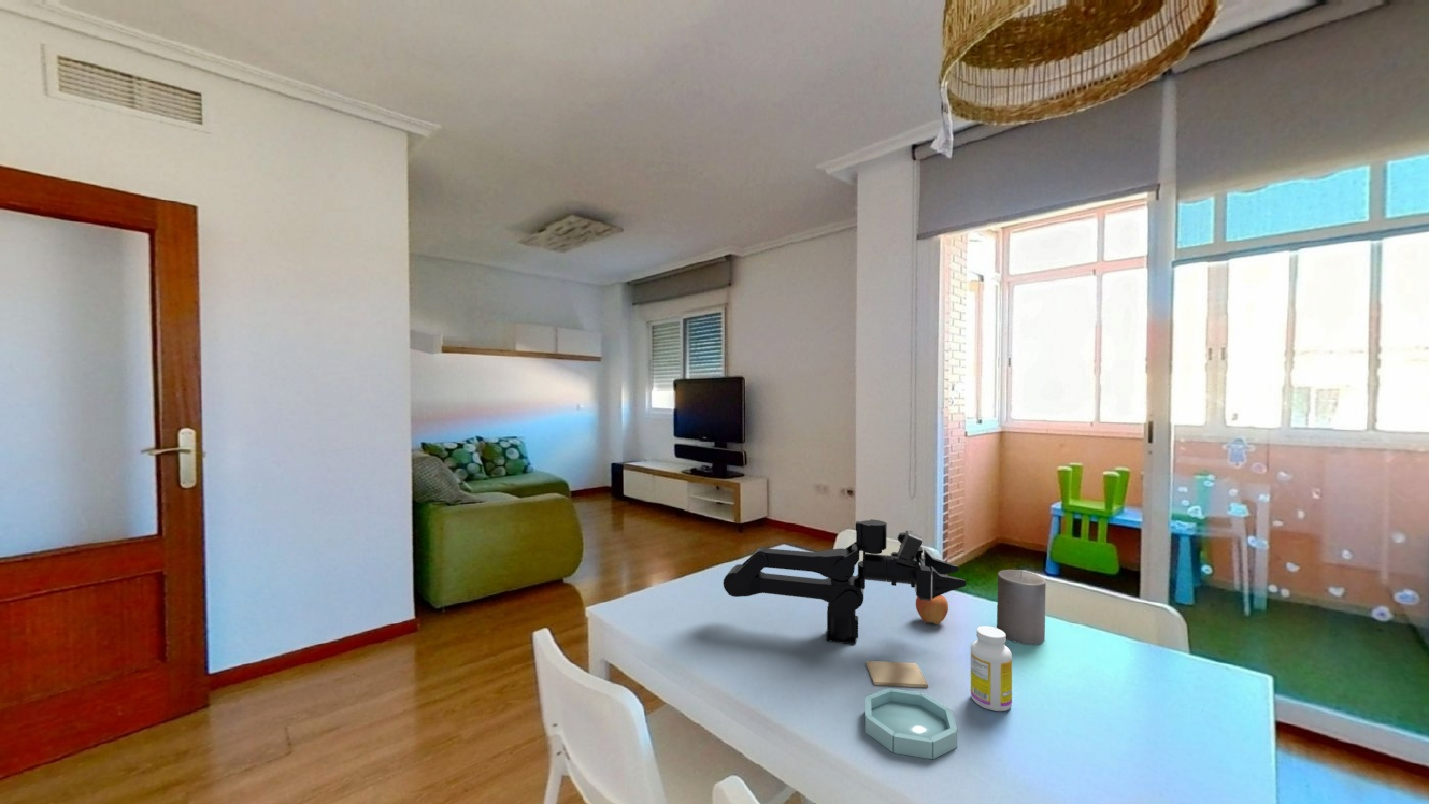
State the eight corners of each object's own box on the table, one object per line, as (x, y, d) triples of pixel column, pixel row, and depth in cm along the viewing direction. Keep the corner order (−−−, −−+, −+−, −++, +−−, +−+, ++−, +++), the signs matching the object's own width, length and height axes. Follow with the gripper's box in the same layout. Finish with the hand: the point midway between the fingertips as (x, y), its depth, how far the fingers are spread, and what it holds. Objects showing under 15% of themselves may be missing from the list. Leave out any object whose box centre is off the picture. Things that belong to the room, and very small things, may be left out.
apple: (949, 630, 124) (949, 597, 124) (916, 626, 127) (916, 593, 127) (946, 618, 131) (946, 586, 131) (914, 614, 134) (915, 582, 134)
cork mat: (874, 684, 101) (874, 681, 101) (866, 663, 109) (866, 660, 109) (928, 687, 100) (928, 684, 100) (916, 666, 108) (916, 663, 108)
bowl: (865, 747, 83) (865, 731, 83) (864, 698, 97) (864, 684, 97) (962, 764, 79) (962, 747, 79) (947, 710, 93) (947, 696, 93)
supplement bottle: (1007, 695, 98) (1008, 626, 97) (1015, 716, 91) (1016, 642, 91) (968, 689, 100) (968, 621, 100) (972, 708, 94) (973, 636, 93)
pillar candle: (989, 625, 127) (989, 563, 127) (1030, 625, 127) (1031, 564, 126) (1010, 645, 117) (1011, 578, 117) (1055, 645, 117) (1055, 578, 117)
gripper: (888, 544, 109) (971, 550, 105) (885, 522, 127) (955, 527, 123) (888, 597, 109) (970, 606, 105) (884, 568, 127) (954, 575, 123)
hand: (962, 575), depth 114 cm, fingers open, 9 cm apart
